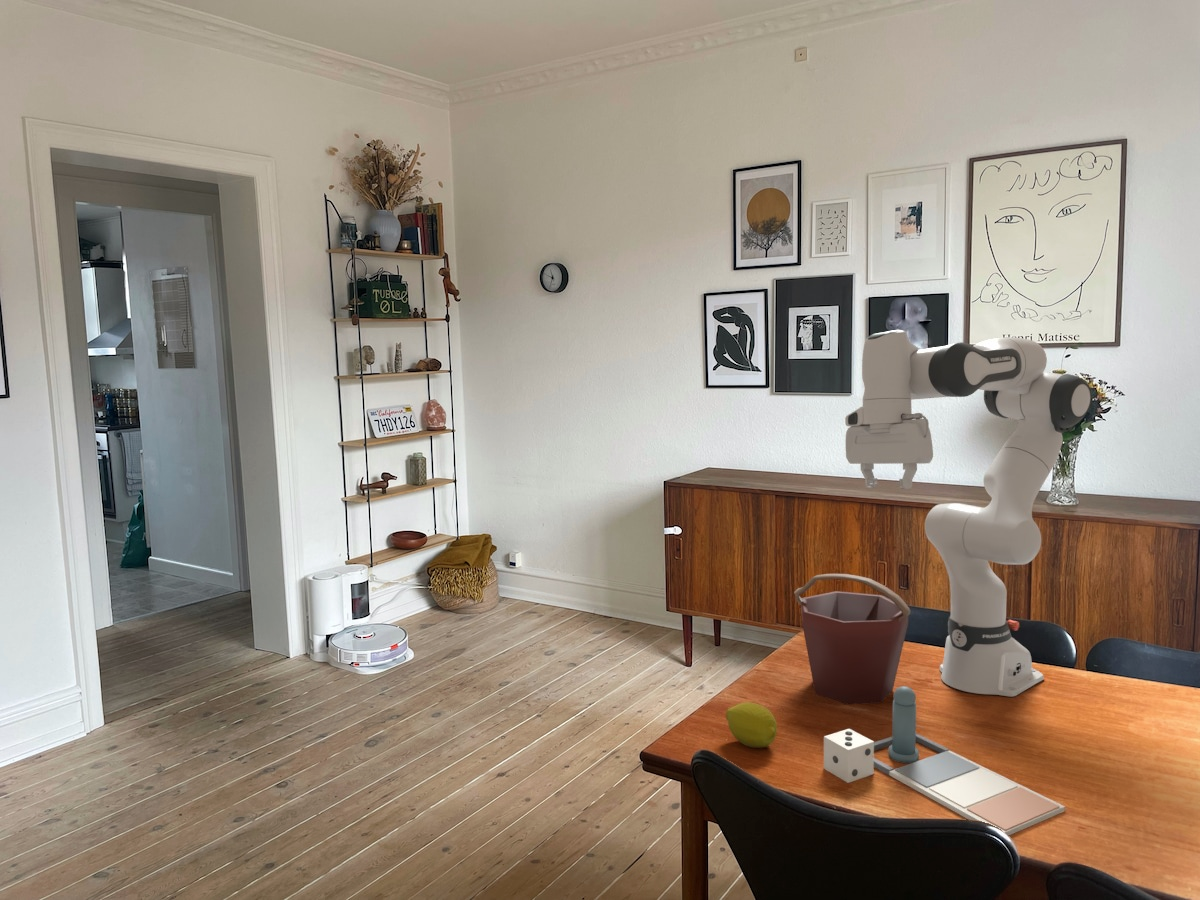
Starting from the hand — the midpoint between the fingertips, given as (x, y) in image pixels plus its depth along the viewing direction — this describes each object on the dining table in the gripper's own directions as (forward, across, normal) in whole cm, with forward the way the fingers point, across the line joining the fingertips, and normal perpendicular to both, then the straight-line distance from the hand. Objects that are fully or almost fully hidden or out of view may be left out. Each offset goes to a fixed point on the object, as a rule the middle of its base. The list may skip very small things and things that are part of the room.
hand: (888, 488), depth 165 cm
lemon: (+49, +11, +24) cm, 55 cm away
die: (+50, -6, +15) cm, 52 cm away
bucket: (+45, +24, -10) cm, 51 cm away
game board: (+50, -17, +1) cm, 53 cm away
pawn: (+49, -6, +2) cm, 49 cm away
